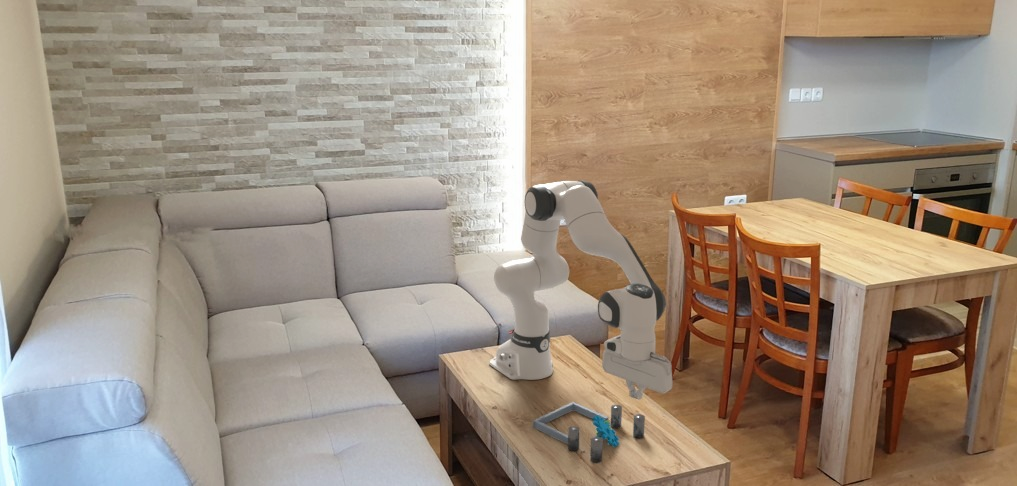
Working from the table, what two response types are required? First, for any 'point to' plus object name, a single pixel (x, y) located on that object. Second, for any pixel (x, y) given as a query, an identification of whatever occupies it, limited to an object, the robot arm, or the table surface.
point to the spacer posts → (598, 441)
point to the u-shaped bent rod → (541, 421)
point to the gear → (605, 431)
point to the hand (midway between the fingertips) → (635, 397)
